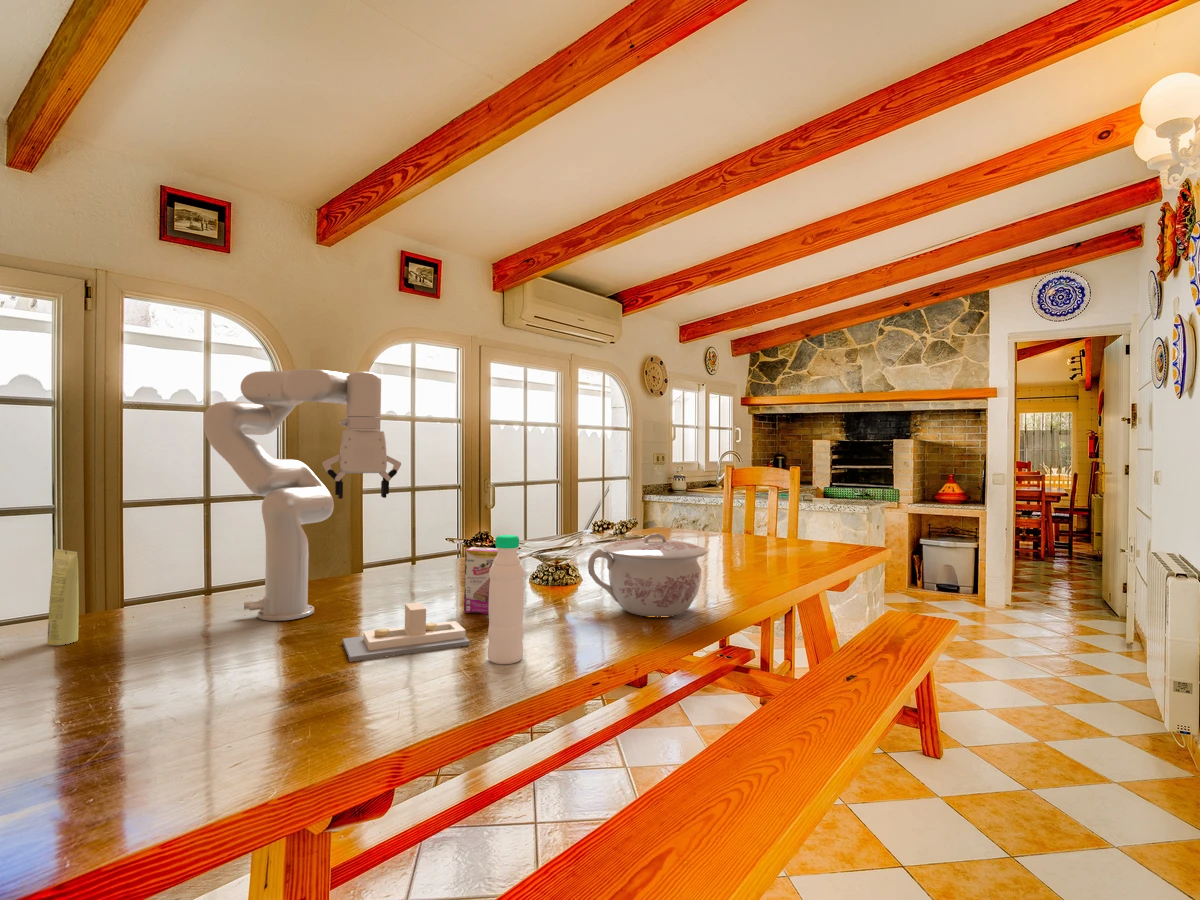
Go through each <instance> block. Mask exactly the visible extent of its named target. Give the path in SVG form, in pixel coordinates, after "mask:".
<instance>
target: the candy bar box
mask: <svg viewBox="0 0 1200 900" xmlns="http://www.w3.org/2000/svg"><path fill="white" fill-rule="evenodd" d="M497 554H498V551H497V549H496V547H495V548H494V547H476V546H471V547H468V548H466V549H465V556H464V557H465V561H464V563H465V564H464V569H465V570H464V595H463V597H464V601H463V613H464V612H467V613H466V614H479V613H481V614H482V615H483V614H484V615H489V585H490V577H489V571H490V568H491V566H492V564H493V563H494V559H495V557H496V556H497ZM481 614H480V615H481Z"/></svg>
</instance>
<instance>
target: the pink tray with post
mask: <svg viewBox="0 0 1200 900" xmlns="http://www.w3.org/2000/svg"><path fill="white" fill-rule="evenodd" d="M426 623H427V608H426V607H425V606H424V605H423V604H422V603H421V602H419V601H418V602H408V603H405V604H404V626H402V627H401V626H400V627H394V628H392V627H391V628H388V629H389V634H388V635H386V637H377V636H376V635H374V631H375V630H368V631H363V635H362V636H363V639H364V641H365V643H366V645H367V647H368V649H369V650H375V649H383V648H390V647H398V646H405V645H413V644H421V643H428V642H436V641H443V640H451V639H459V638H465V637H467V636H466V634H467V633H466V632H467V631H466V629H465V628H464V627H463V626H461V625H460V624H459V623H458V621H456V620H453V621H445V622H437V623H436V624H437V628H436V629H434V631H426Z"/></svg>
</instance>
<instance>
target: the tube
mask: <svg viewBox="0 0 1200 900" xmlns="http://www.w3.org/2000/svg"><path fill="white" fill-rule="evenodd" d="M50 580H51V582H50V592H49V593H50V594H49V607H48V608H49V609H48V622H47V623H48V624H47V625H48V626H47V645H49V646H65V644H66V645H69V644H70V643H71V644H74V643H76V642H78V640H79V612H80V611H79V609H80V608H79V607H80V606H79V595H80V591H79V590H80V589H79V558H78V551H71V550H66V549H65V550H64V549H59V548H55V549H54V554H53V560H52V569H51V579H50ZM73 642H74V643H73ZM71 644H70V645H71Z"/></svg>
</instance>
